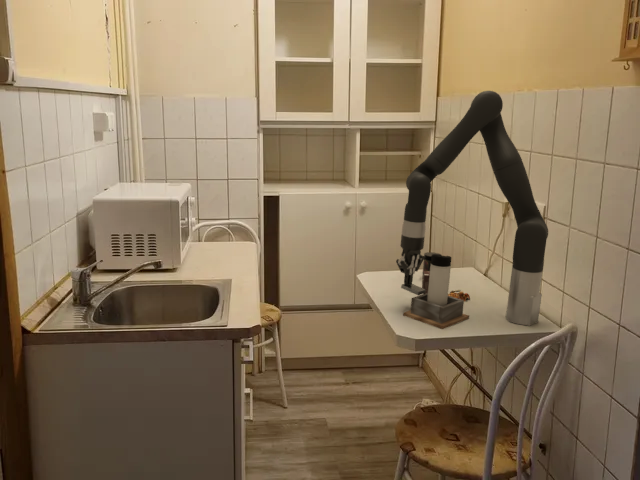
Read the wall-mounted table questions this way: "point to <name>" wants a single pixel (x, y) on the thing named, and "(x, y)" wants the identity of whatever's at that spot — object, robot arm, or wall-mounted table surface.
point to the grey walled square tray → (436, 311)
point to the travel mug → (439, 279)
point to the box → (425, 280)
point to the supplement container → (427, 261)
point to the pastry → (459, 295)
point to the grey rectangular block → (413, 289)
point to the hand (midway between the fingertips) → (407, 284)
